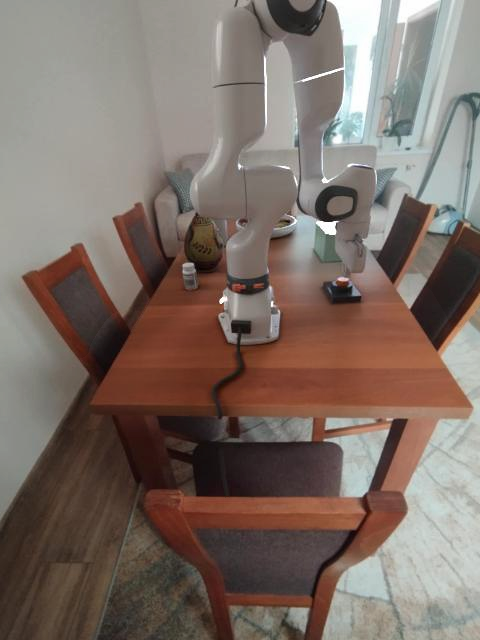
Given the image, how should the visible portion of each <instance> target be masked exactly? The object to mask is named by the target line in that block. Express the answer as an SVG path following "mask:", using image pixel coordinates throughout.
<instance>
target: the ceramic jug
mask: <svg viewBox="0 0 480 640" xmlns="http://www.w3.org/2000/svg"><path fill="white" fill-rule="evenodd" d="M183 252H184V256H185V258H186V260H187V262H188V263H193V264H194V269H195V270H196V273H199V274H206V273H212V272H214V271H216V270H217V268H218V265H219V264H220V262H221V261H222V259H223V257H224V253H225V246H224V242H223V238H222V236H221V233H220V231H219V229H218V227H217V226H216V225H215V223H214V222H213V220H212V219H208V218H202V217H201V216H199V215H198V214H197V212H196V211H195V214H194V215H193V217H192V219H191V221H190V223H189V225H188V227H187V230H186V232H185V235H184V242H183Z"/></svg>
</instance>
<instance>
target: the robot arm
mask: <svg viewBox="0 0 480 640" xmlns="http://www.w3.org/2000/svg"><path fill="white" fill-rule="evenodd" d="M211 33H212V34H211V52H210V53H211V54H210V56H211V57H210V58H211V59H210V61H211V64H210V65H211V68H210V69H211V87H212V100H213V119H214V120H213V125H214V128H213V141H212V145H211V150H210V152H209V154H208V156H207V159H206V160H205V163H204V164H203V165H202V167H201V168H199V170H198V171H197V172H196V174H195V175H194V177H193V178H192V180H191V183H190V187H189V199H190V203H191V205H192V208H193V210H194V211H195V213H196V212H197V214H198V215H199V216H201V217H202V218H208V219H215V220H226V221H227V220H239V219H240V218H246V219H248V223H247V225H246V226H245V227H244V228H243V229H242V230H241V231H237V232H236V233H234V234H232V236H230V238H229V239H228V242H227V244H226V246H225V256H226V257H225V259H226V269H227V270H226V275H225V280H226V288H225V289H224V290H222V297H221V298H220V299H219V304H222V303H223V309H222V311H223V312H221V313H219V314H218V317H217V319H218V321H219V323H220V327H221V328H222V331H223V333H224V336H225V338H226V341H227V342H228V343H230V344H231V345H232V344H233V345H236V359H237V361H238V366H237V369H236V370H235V371H234V372H232V373H231V374H229V375H228V376H226V377H224V378H223V379H221V380H219V381H218V382H216V384H215V385H214V386H213V388H212V390H211V398H212V401H213V402H214V404H215V408H216V413H217V419H218V421H219V420H222V419H223V411H222V410H223V409H222V406H221V403H220V401H219V399H218V397H217V391H218V389H219V387H221V386H223V384H225V383H227V382H229V381H231V380H233V379H234V378H236V377H237V376H238V375H239V374H240V373H241V371H242V368H243V364H244V363H243V360H242V356H241V355H242V354H241V346H242V345H243V346H249V345H261V344H262V345H263V344H267V343H271V342H274V341H276V340H278V339H279V337H280V324H281V310H280V309H279V308H278V306H277V305H274V302H276V301H277V296H274V287H273V286H272V285H270V279H271V278H270V276H271V275H270V270H269V268H268V260H269V259H268V257H269V247H270V240H271V238H270V237H271V234H272V232H273V230H274V228H275V226H276V225H277V223H278V222H279V221H280V220H281V218H282V217H283V216H284V215H288V213H289V212H291V210H292V209H293V207H294V206H295V204H296V206H297V208H298V210H299V211H300V212H301V213H302V214H303V215H306V216H309V217H312V218H313V219H315V220H318V222H324V223H332V222H336V221H338V222H336V223H335V230H336V234H335V251H336V253H337V254H338V256H339V257H340V258H341V260H342V261H341V266H342V267H341V268H342V272H341V274H342V277H345V278H348V279H350V278H351V276H352V275H351V274H362V273H364V271H365V269H366V260H367V244H366V243H364V240H366V239H367V238H368V237H369V231H370V225H371V220H372V214H371V211H372V207H373V205H374V203H375V196H376V191H377V178H378V177H377V176H378V175H377V170H375V168H374V167H373V166H368V165H363V164H358V163H350V164H348V165H347V166H346V168H344V169H343V171H341V172H340V173H339V174H337V175H335V176H334V177H332V178H330V179H327V178H326V176H325V173H324V171H323V169H324V167H323V165H324V164H323V141H324V135H325V132H326V130H327V128H328V127H329V125H330V124H331V123H332V121H334V119H336V117H337V116H338V114H339V113H340V111H341V109H342V107H343V104H344V99H345V90H346V69H345V67H346V65H345V63H346V62H345V50H344V48H345V47H344V41H343V40H344V39H343V33H342V25H341V20H340V16H339V11H338V9H337V7H336V5H335V4H334V3H333V2H331V1H329V0H235V2H234V5H233V6H232V7H229V8H226V9H225V10H223V11H222V12H220V13H219V15H217V17H216V19H215V21H214V23H213V26H212V32H211ZM281 42H282V43H283V45H284V47H285V48H286V50H287V52H288V55H289V58H290V63H291V75H292V82H293V83H292V84H293V94H294V102H295V111H296V126H297V150H298V169H299V177H298V178H299V179H298V180H297V177H296V174H295V173H294V171H293V170H292V169H291V168H290V167H287V166H282V165H275V164H260V165H259V164H257V165H244V166H243V165H241V164H240V159H241V156H242V154H243V153H244V152H245V151H247V150H249V149H250V148H251V147H253V146H255V145H256V144H257V143H258V142H259V141H261V140H262V138H263V137H264V135H265V133H266V131H267V130H266V129H267V71H266V64H267V56H268V51H269V47H270V45H271V44H274V43H281ZM218 455H219V465H220V471H221V472H220V473H221V479H222V484H223V490H224V495H225V496H229V497H230V494H229V493H230V492H229V487H228V481H227V473H226V466H225V457H224V456H225V455H224V448H218ZM225 496H224V497H225Z"/></svg>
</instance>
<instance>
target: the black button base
mask: <svg viewBox="0 0 480 640" xmlns="http://www.w3.org/2000/svg"><path fill="white" fill-rule="evenodd" d="M322 290H324V292H325V294H326V296H327V297H328V299H329V301H330V303H331V304H332V305H335V304H350V303H361V301H362V297H363V296H362V294H361V293H360V292H359V290H358V288H357V287H356V286H355V285H354V283H353V281H352V280H350V279H349V282H348V285H347V286H339V285H337V278H336V279H334V280H330V281H329V280H328V281H322Z"/></svg>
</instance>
